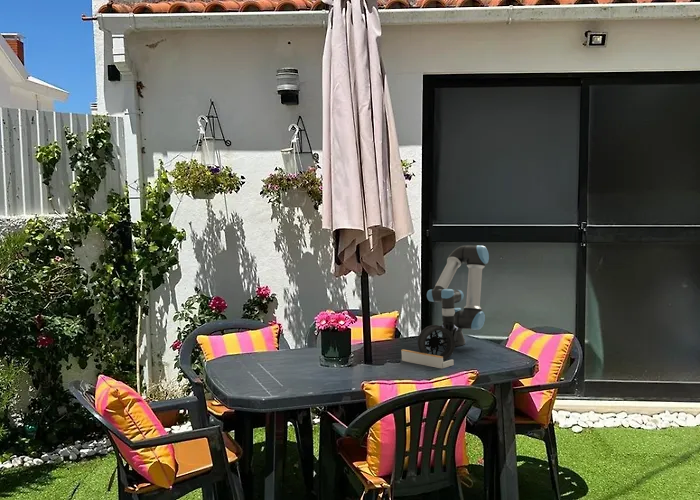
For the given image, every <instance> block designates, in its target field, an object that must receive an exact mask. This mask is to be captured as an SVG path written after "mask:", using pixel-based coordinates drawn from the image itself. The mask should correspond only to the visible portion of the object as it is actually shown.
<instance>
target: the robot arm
mask: <svg viewBox="0 0 700 500" xmlns="http://www.w3.org/2000/svg"><path fill="white" fill-rule="evenodd" d="M489 259H490V254H489V251H488V249H487V247H486V246H484V245H461V246H459V247H457V248H455V249H454V250H453V251H452V252H451V253H450V254H449V255H448V257H447V259H446V265H445V266H444V268H443V270H442V272H441V274H440V275H439V278H438V279H437V282H436V283H435V286H434V287H433V289H429V290H427V292H426V299H427V300H428V302H433V303H441V314H442V316H441V317H442V324H441V325H440V326H441V327H443V328H445V329H447V330H449V331H450V332H451V333H452V335H453V336H454V339H455V347H461V346H464V345H466V340H465V337H464V333H463V330H473V331H474V330H475V331H477V330H481V329H482V328H483V327H484V324H485V321H486V315H485V312H484V311H483V308H482V307H481V294H482V278H483V269H484V268H485V267H486V265H487V264H488V263H489V261H490V260H489ZM462 264H466V267H467V268H468V275H467V287H466V289H467V290H466V303H465V305H464V307H463V310H462V307H455V304H457V303H461V302H462V301H463V300H464V297H465V295H464V291H462V290H461V289H452V288H448V287H449V286H450V284H451V283H452V280H453V278H454V276H455V274H456V273H457V270H458V268H460V267H461V265H462ZM440 331H441V330H440ZM440 333H441V336H442V335H443V331H441V332H440ZM442 338H447V336H446V334H445V333H444V335H443V337H442ZM441 342H442V343H443V342H447V340H441ZM443 346H446V347H447V343H445V344H443ZM453 353H454V352H453ZM453 353H452V355H453Z"/></svg>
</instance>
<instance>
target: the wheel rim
mask: <svg viewBox="0 0 700 500" xmlns="http://www.w3.org/2000/svg"><path fill="white" fill-rule="evenodd" d="M441 331H443V335H444V333H445V334H446V336H447V338H443V335H442V334H441V336H439V333H442V332H441ZM417 338H418V339H417V348H418V351H419V352H420V353H426V354H430V353H431V354H432V355H437V356H443V362H445V361H447V360H448V359H449V358H450V357H451V355H453V354H452V353H454V351H455V348H456V346H455V339H454V336H453V335H452V333H451V332H450V331H449V330H447V329H445V328H443V327H441V325H436V324H432V325H427V326H426V327H424V328H423V329H422V330H421V332H420V333H419V335H418V337H417ZM442 340H447V342H443V343H442ZM445 343H447V346H446V348H445V347H444V346H445V345H443V344H445ZM440 347H442V348H443V351H442V350H439V349H440ZM427 348H430V350H429V351H427ZM434 350H435V353H434ZM439 352H440V354H438V353H439Z"/></svg>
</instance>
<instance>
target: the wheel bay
mask: <svg viewBox="0 0 700 500" xmlns="http://www.w3.org/2000/svg"><path fill="white" fill-rule="evenodd" d="M400 351H401V361H403V362H407V363H411V364H417V365H421V366H426V367H427V366H428V367H433V368H437V369H446V368H449V367H452V366H454V365H455V364H454V363H455V360H454V359H449V360H448V359H447V360H444V361H443V356H437V355H438V354H437V355H435V354H433V355H432V353H431V354H430V353H428V354H426V353H421V352H420V351H414V350H409V349H401V350H400Z"/></svg>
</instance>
